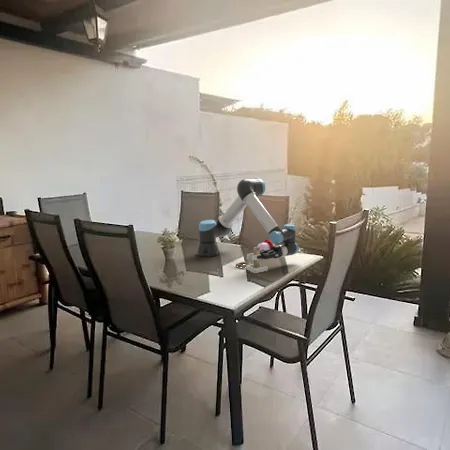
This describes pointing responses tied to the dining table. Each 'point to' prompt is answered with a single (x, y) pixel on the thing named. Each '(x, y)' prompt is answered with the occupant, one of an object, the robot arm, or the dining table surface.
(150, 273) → the dining table surface
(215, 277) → the dining table surface
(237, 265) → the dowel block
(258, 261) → the dowel
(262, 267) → the tray
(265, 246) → the mushroom
